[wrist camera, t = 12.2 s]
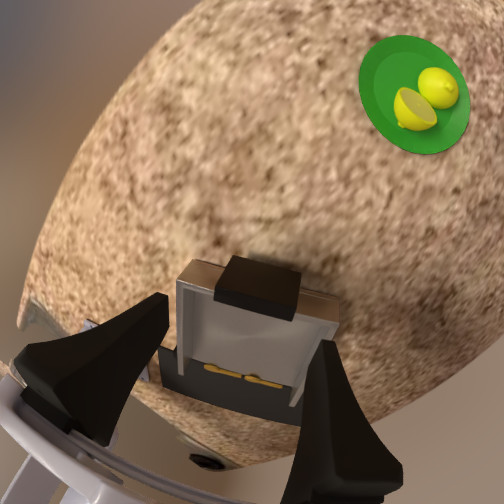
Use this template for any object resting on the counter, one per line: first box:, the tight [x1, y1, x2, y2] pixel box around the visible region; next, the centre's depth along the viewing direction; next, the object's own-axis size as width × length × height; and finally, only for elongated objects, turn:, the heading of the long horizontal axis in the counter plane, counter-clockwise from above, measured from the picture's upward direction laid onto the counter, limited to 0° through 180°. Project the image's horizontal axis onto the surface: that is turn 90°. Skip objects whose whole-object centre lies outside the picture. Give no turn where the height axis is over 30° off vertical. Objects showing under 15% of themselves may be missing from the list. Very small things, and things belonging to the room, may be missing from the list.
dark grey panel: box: [157, 346, 304, 427], centre depth 30 cm, size 20×9×1 cm, turn 80°
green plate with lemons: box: [359, 35, 470, 154], centre depth 12 cm, size 8×8×3 cm
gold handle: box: [173, 345, 304, 395], centre depth 27 cm, size 1×15×1 cm, turn 80°
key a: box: [204, 364, 242, 378], centre depth 28 cm, size 4×2×1 cm, turn 78°
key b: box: [244, 376, 283, 388], centre depth 27 cm, size 4×2×1 cm, turn 73°
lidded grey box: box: [176, 255, 340, 407], centre depth 22 cm, size 14×12×5 cm
